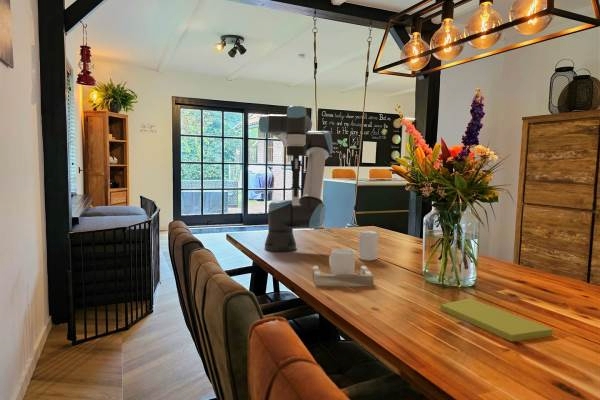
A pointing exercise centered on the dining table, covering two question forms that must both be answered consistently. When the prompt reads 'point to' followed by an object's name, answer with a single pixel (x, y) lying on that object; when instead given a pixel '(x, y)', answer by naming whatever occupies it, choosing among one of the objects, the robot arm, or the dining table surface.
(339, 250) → the mug
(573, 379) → the dining table surface
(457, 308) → the flat olive board
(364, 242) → the beverage can
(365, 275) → the dock
